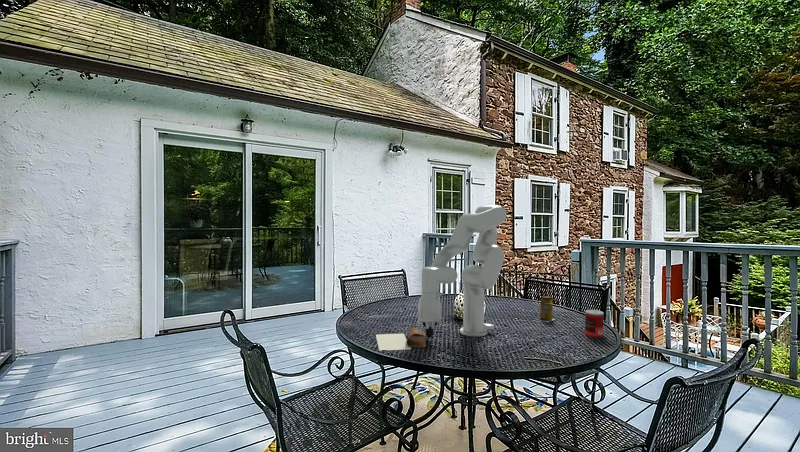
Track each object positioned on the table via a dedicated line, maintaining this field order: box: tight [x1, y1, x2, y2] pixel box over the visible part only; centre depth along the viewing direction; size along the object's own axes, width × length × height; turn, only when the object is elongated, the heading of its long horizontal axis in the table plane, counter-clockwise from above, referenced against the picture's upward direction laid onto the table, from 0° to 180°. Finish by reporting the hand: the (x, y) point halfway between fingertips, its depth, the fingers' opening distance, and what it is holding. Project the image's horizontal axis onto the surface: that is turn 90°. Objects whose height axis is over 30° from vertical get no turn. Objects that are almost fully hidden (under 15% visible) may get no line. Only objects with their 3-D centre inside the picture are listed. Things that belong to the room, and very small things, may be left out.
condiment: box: [535, 295, 556, 323], centre depth 208 cm, size 7×8×12 cm
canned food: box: [584, 309, 605, 339], centre depth 181 cm, size 8×8×11 cm
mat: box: [375, 333, 412, 352], centre depth 171 cm, size 13×21×1 cm, turn 8°
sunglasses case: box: [406, 326, 427, 349], centre depth 173 cm, size 18×7×7 cm, turn 176°
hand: (429, 336), depth 173 cm, fingers closed
